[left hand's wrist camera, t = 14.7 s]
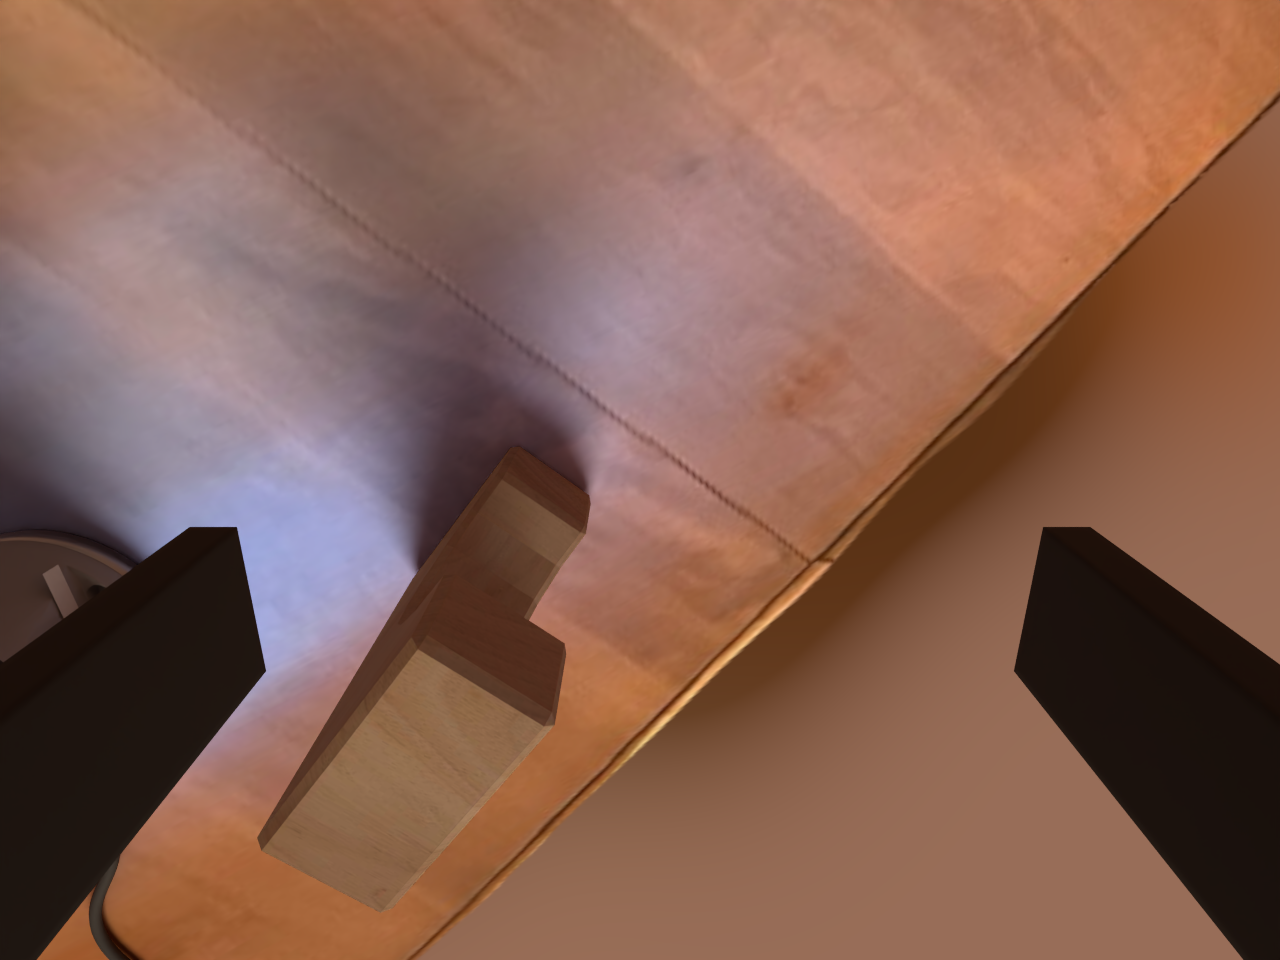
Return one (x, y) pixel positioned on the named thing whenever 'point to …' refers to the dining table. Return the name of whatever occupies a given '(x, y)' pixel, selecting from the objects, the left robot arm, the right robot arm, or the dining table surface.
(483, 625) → the decorative block
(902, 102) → the dining table surface
